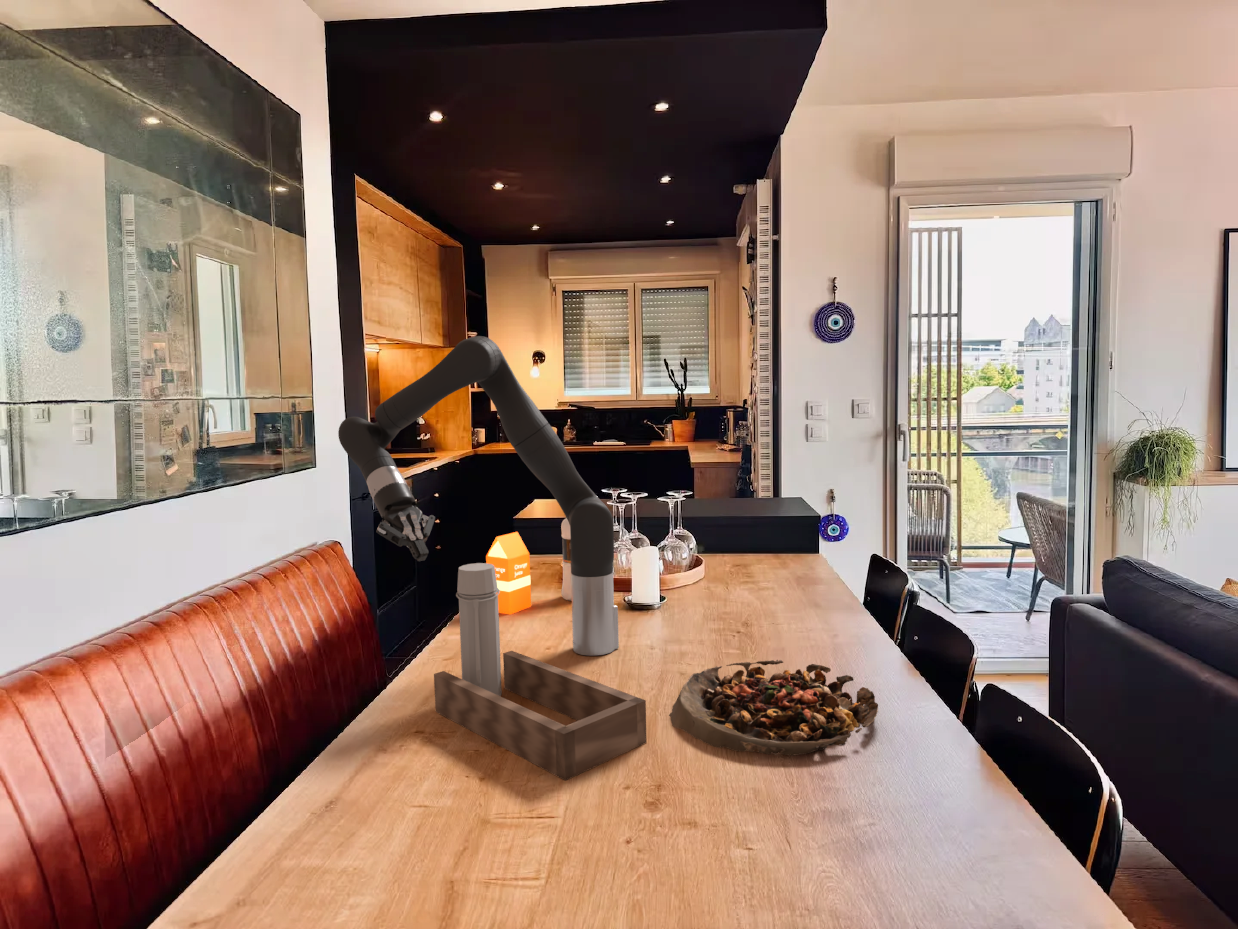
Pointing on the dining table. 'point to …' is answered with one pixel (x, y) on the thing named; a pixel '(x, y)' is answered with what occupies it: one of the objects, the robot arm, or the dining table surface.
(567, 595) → the vodka
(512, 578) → the orange juice
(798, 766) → the dining table surface
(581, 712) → the bottle rest
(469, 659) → the water bottle
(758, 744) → the food dish
